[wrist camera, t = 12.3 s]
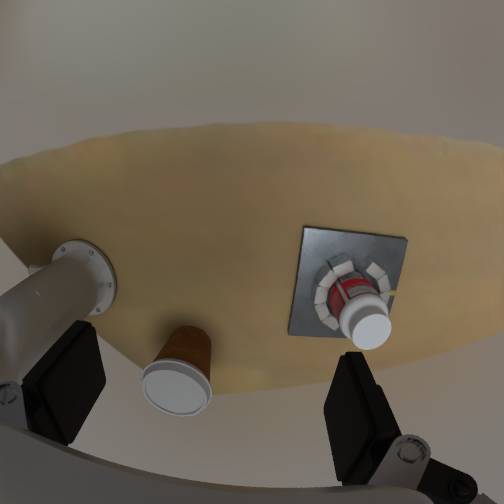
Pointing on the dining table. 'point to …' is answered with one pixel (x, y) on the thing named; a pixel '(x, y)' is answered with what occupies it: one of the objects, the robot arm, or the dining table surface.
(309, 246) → the socket plate
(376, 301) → the pill bottle
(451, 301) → the dining table surface
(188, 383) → the disposable coffee cup
